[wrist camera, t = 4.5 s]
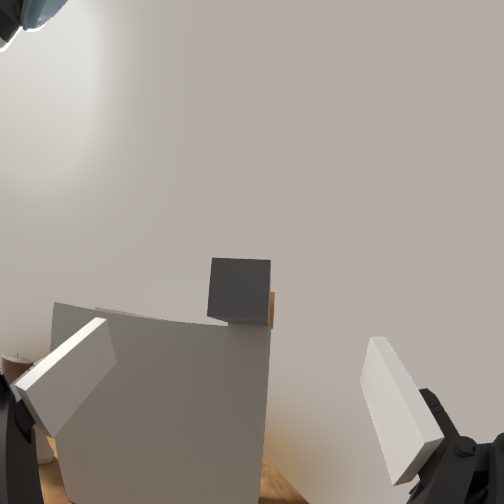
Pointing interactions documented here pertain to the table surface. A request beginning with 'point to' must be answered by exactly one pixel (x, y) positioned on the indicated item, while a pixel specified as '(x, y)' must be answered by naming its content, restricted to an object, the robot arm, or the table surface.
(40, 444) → the decorative mushroom
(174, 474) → the breaker panel
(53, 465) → the table surface
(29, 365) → the pillar candle
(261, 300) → the handle
